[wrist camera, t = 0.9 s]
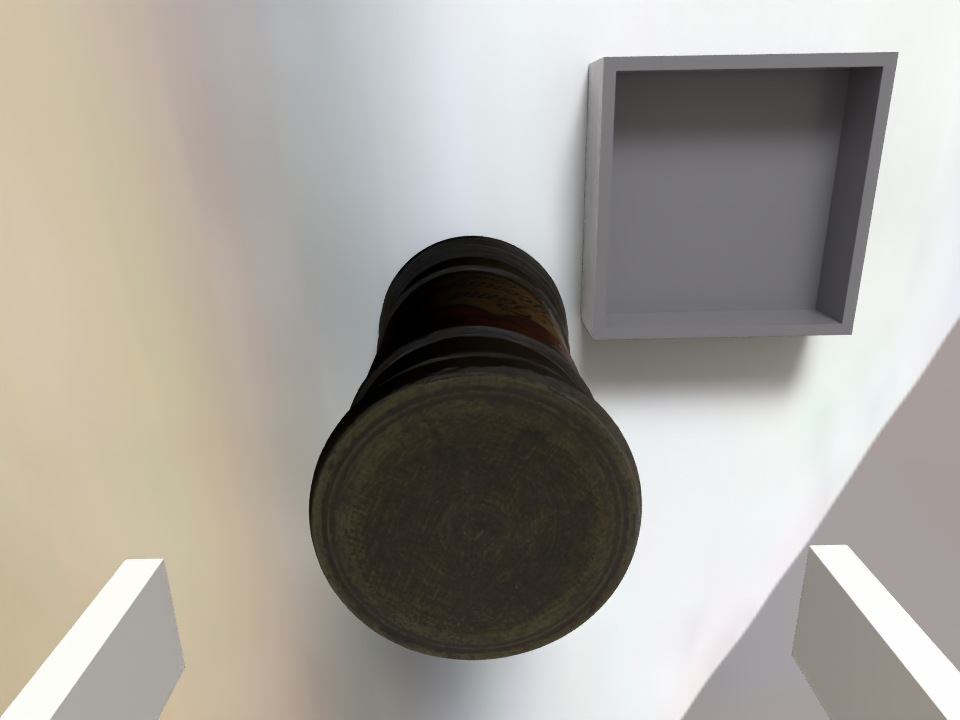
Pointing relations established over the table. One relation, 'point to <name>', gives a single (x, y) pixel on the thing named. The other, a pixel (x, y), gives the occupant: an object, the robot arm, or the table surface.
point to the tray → (730, 192)
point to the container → (474, 466)
